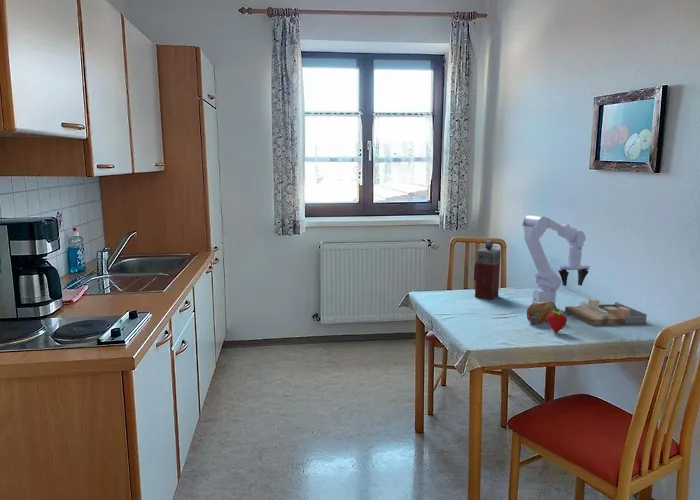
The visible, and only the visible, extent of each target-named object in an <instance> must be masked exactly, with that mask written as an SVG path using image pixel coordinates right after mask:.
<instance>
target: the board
mask: <svg viewBox="0 0 700 500" xmlns="http://www.w3.org/2000/svg"><path fill="white" fill-rule="evenodd" d="M598 308H600V307H598ZM600 309H602V308H600ZM602 310H604V309H602ZM605 311H606V310H605ZM607 312H608V315H607V318H602V317H600V316H597V315H595V314H593V313H591V312H589V311H587V310H585V309H583V308H581V307H580V305H575V306H571V305H570V306H565V307H564V313H566V314H567V315H569V316H571V317H573V318H576V319H577V320H579V321H582V322H583V323H585V324H587V325H589V326H591V325H593V326H615V325H616V326H621V325H622V326H623V325H625V324H624V318H622V317H620V316H618V315H615V314H613V313H611V312H609V311H607Z"/></svg>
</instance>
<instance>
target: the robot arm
mask: <svg viewBox="0 0 700 500" xmlns="http://www.w3.org/2000/svg"><path fill="white" fill-rule="evenodd" d="M521 226H522V228H523V230H524V231H523V232H524V233H523V235H524V242H525V244H526V246H527V249H528V251H529V253H530V255H531V256H530V257H532V261H533V263H534V266H535V267H536V270H537V271H536V273H535V274H534V275H535V279H536V280H535V281H536V285H537V287H538V288H537V289H534V290H533V292H532V303H531V304H533V303H539V302H545V301H548V302H553V303H554V304H555V305H556V300H557V299H556V298H557V291H558V290H559V288H560V287H561V285H562V286H564V287H567V283H568V277H569V274H570V272H569V271H577V285H578V286H583V283H584V281H585V278H586V277H587V275H588V274H589V271H590V265H587V264H581V262H582V254H583V253H582V251H583V247H584V244H585V241H586V239H587V237H586V234H585V233H584V232H583V231H581V230H577V228H576V227H572V226H570V224H569V223H563V224H562V223H561V224H560V223H558V222H556V221H555V220H553V219H551V218H550V217H547V216H544V215H534V214H527V215H525V216H524V218H523V220H522V223H521ZM547 229H550V230H551V231H554V232H556V234H557V236H559V237H561V238H563V239H565V240H566V242H568V247H567V261H566V264H564V265H562V264H561V265H557V271H558V274H559V276H560V277H559V276H558V275H557V272H556V271H554V270H553V269H552V268H551V266H550V264H549V263H550V262H549V261H548V259H547V256H546V254H545V251H544V249H543V246H542V244H541V241H540V238H542V236H543V235H544V233H545V232H546V231H547ZM556 308H557V311H560V308H559V307H556Z"/></svg>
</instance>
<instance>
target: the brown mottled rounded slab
mask: <svg viewBox="0 0 700 500" xmlns="http://www.w3.org/2000/svg"><path fill="white" fill-rule="evenodd" d="M557 308H558V307H557V305H556V303H555V304H554V303H553V302H548V301H545V302H539V303H533V304H532V303H531V304H530V305H529V306H528V307H527V309H526V319H527V321H528V322H529V323H530V324H535V325H539V324H545V323H548V321H547V315H548V314H550V313H553V312H550V311H556V312H558V310H557Z"/></svg>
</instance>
